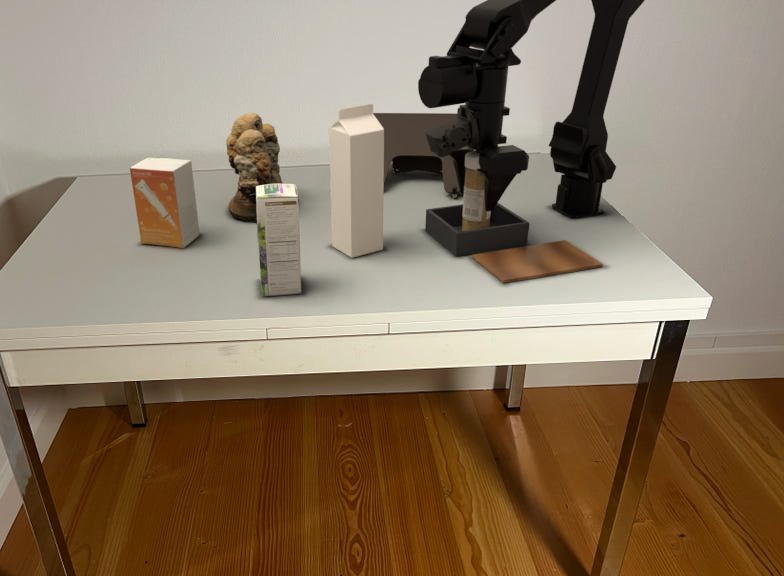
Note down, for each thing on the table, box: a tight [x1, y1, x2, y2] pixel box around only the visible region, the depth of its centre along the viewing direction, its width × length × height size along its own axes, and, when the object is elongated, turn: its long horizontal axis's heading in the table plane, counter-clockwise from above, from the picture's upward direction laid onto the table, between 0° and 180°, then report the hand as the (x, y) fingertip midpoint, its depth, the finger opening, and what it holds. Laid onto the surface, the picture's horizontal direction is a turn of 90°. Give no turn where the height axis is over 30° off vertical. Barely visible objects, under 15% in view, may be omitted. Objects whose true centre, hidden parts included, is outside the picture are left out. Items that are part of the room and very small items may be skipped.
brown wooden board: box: [471, 239, 604, 284], centre depth 113 cm, size 16×10×1 cm, turn 106°
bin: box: [424, 202, 530, 257], centre depth 121 cm, size 12×12×4 cm
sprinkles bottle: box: [462, 151, 491, 231], centre depth 118 cm, size 5×5×14 cm
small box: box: [129, 157, 201, 249], centre depth 124 cm, size 8×6×13 cm
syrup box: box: [255, 183, 302, 297], centre depth 105 cm, size 6×6×14 cm
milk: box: [328, 103, 385, 259], centre depth 115 cm, size 6×6×22 cm
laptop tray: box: [373, 112, 460, 199], centre depth 148 cm, size 23×23×9 cm
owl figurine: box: [225, 112, 284, 221], centre depth 135 cm, size 18×12×17 cm, turn 174°
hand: (475, 202), depth 119 cm, fingers closed on sprinkles bottle, 8 cm apart
